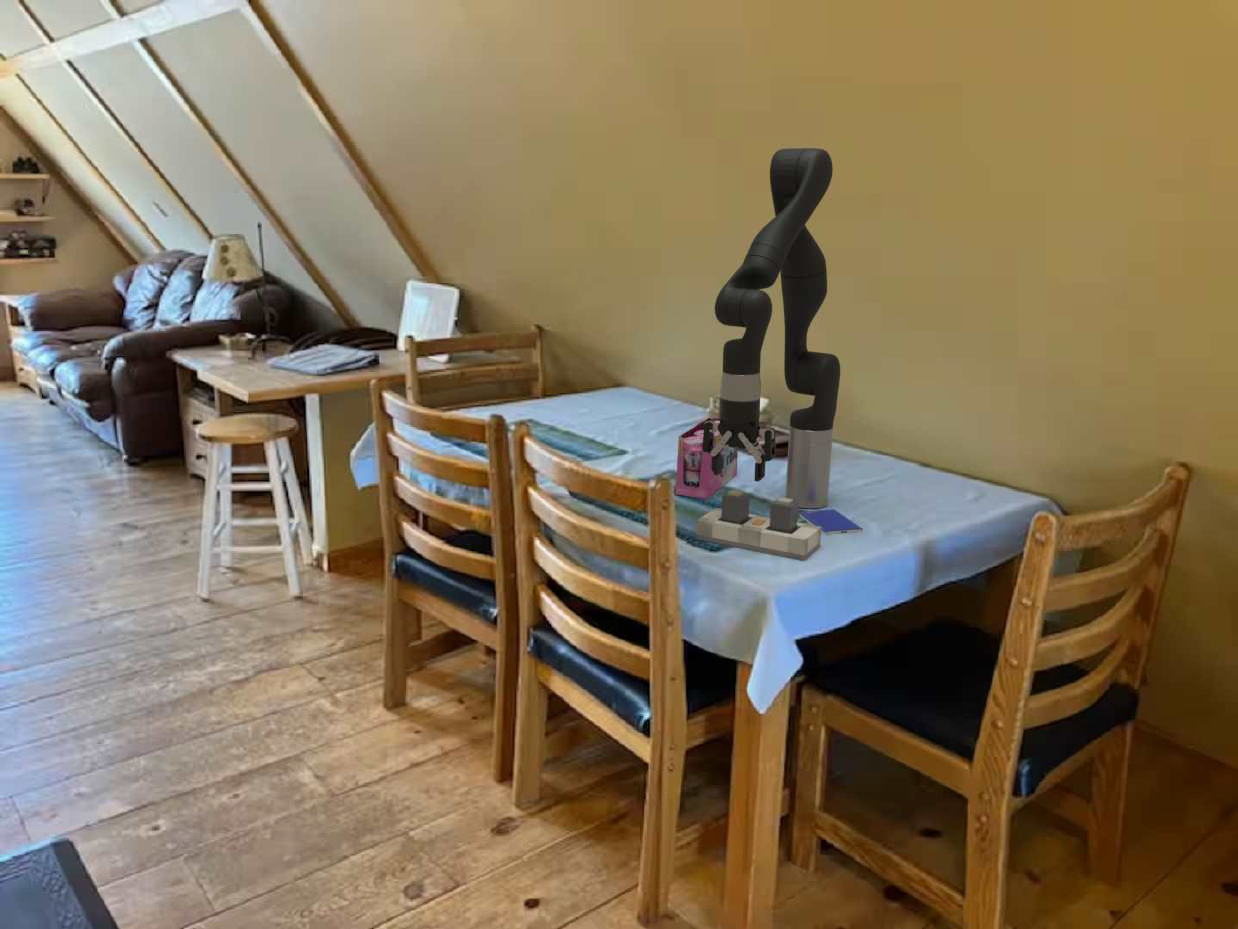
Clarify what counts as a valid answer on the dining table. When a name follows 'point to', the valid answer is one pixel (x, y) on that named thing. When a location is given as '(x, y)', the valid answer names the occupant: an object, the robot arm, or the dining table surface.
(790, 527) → the twin plug
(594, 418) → the dining table surface
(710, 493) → the gum box
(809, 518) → the hard drive
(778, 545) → the strip
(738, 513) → the plug
